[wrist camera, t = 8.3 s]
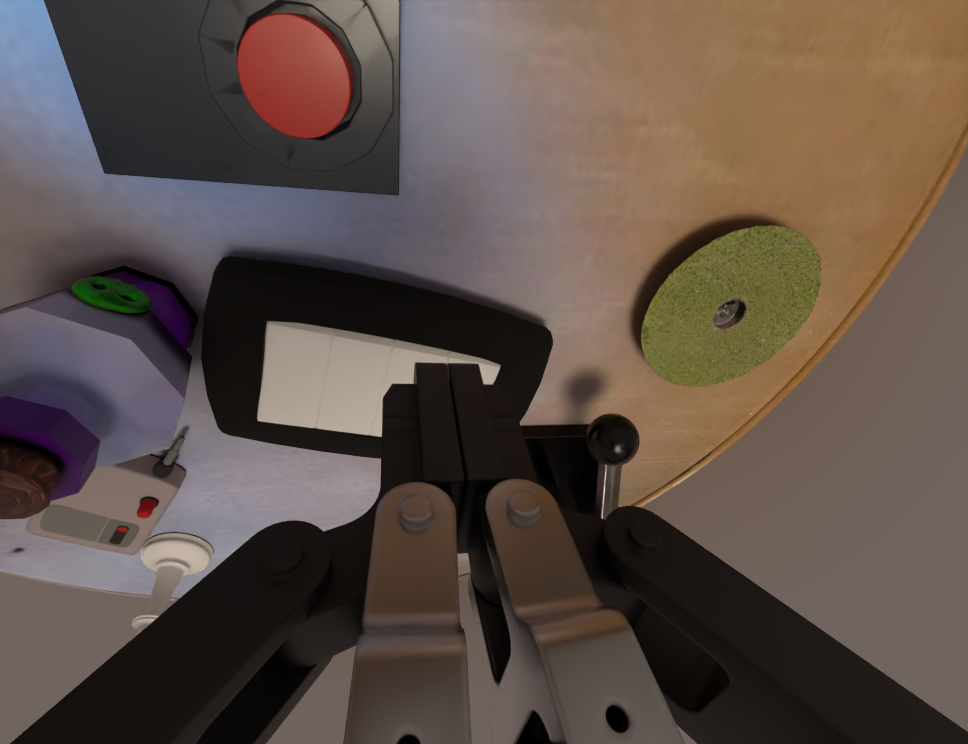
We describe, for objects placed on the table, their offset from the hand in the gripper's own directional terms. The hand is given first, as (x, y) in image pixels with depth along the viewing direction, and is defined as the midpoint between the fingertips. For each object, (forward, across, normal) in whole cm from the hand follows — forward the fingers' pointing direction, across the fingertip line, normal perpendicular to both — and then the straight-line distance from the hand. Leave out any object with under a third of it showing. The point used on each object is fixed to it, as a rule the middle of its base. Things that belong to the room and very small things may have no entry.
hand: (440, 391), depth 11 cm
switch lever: (+9, -12, +17) cm, 23 cm away
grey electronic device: (+16, +19, +21) cm, 33 cm away
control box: (+15, +7, -5) cm, 18 cm away
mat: (+15, -19, +5) cm, 25 cm away
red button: (+12, +4, -5) cm, 14 cm away
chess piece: (+16, +17, +29) cm, 37 cm away
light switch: (+16, +2, +11) cm, 19 cm away
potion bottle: (+16, +14, +7) cm, 22 cm away
